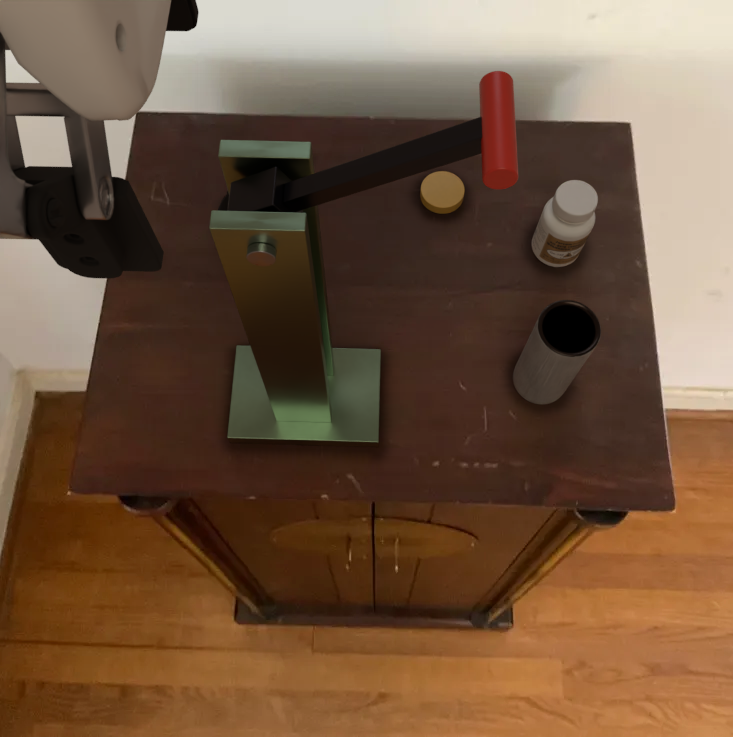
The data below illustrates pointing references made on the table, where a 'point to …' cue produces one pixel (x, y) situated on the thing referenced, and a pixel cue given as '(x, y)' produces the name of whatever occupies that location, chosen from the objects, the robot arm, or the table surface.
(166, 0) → the robot arm
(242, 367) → the hand press
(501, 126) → the lever
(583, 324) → the planter
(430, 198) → the brass blank
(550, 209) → the pill bottle
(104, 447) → the table surface
